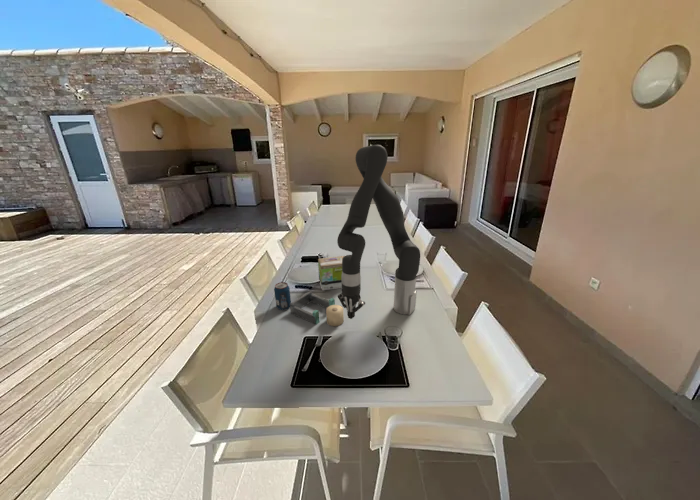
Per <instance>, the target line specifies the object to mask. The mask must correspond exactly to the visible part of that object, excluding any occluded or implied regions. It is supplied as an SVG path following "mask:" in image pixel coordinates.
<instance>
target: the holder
mask: <svg viewBox="0 0 700 500" xmlns="http://www.w3.org/2000/svg"><path fill="white" fill-rule="evenodd" d="M310 303H313V304H315V305H317V306H320V307H322V308H325V309H327V307H329V306H331V305H336V299H335V298H333V297H331V298H329V299H328V298H327V299H326V298H324V297H322V296H319V295H316V294H314V293H313V292H312V291H307V292H306V293H304V294H303V295H302V296H300V297H298V298H297V299H295V300H294V301H291V303H290V308H289V310H290V314H292V315H294V316H296V317H298V318H301V319H303V320H305V321H307V322H309V323H312V324H314V325H315V326H316V325H318V324H319V323H320V311H319V310H317V309H314V310H313V311H312V312H310V311H308V310H306V309H304V307H305V306H306V305H308V304H310Z"/></svg>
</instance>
